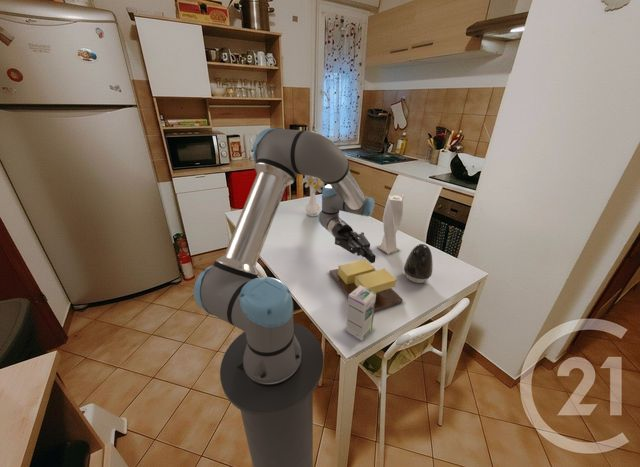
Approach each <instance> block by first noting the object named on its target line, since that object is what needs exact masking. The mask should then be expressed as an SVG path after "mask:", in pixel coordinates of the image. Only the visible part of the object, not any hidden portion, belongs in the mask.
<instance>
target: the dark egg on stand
mask: <svg viewBox="0 0 640 467" xmlns="http://www.w3.org/2000/svg"><path fill="white" fill-rule="evenodd" d="M433 263H434V262H433V254H432V251H431V249H430V247H429V246H428V245H427V244H424V243H419V244H417V245H416V246H414V247H413V249H412V250H411V252H409V254H408V256H407V258H406V260H405V263H404V266H403V271H404V275H405V276H406V278H407V279H408V280H409V281H411V282H412V283H416V284H421V283H425V282H427V281H428V280H429V279H430V278H431V276H432V275H433V268H434V266H433Z"/></svg>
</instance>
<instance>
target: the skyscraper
mask: <svg viewBox="0 0 640 467" xmlns="http://www.w3.org/2000/svg"><path fill="white" fill-rule="evenodd" d="M404 198H405V195H404V193H402V194H401V196H400V195H397V194H394V195H391V194H389V195H388V198H387V202H386V206H385V209H384V215H383V237H382V240H381V243H380V245H378V246H377V249H378V250H380V251H381V252H383V253H384V254H387V255H391V254H393V253H394V254H395V253H397V252H399V251H400V249H399V248H397V232H398V230H399V228H400V226H401V223H402V220H403V214H404Z"/></svg>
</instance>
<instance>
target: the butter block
mask: <svg viewBox="0 0 640 467" xmlns="http://www.w3.org/2000/svg"><path fill="white" fill-rule="evenodd" d="M337 269H338V275H339V276H340V277H341V278H342V280H343V281H344V282H345V283H346V284H351V283H354V282H355V276H359V275H363V274H366V273H370V272H373V271H376V268H375V267H374V266H373V265H372V263H370V262H369V261H368V260H367V259H366V258H364V259H360V260H356V261H352V262H348V263H344V264H341V265H338V267H337Z"/></svg>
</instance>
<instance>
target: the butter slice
mask: <svg viewBox="0 0 640 467" xmlns="http://www.w3.org/2000/svg"><path fill="white" fill-rule="evenodd" d="M397 281H398V280H397V278H396V277H394V276H393V275H392V274H391V273H390V272H389V271H388V270H386V269H385V268H380V269H377V270H375V271H373V272H370V273H366V274H363V275H359V276H355V284H356V286H357V287H358V286H359V285H361V286H363V287H366V288H368V289H370V290H371V291H373V292H375V293H377V292H380V291H383V290H386V289H389V288H391V289H394V288H396V285H397Z"/></svg>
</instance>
